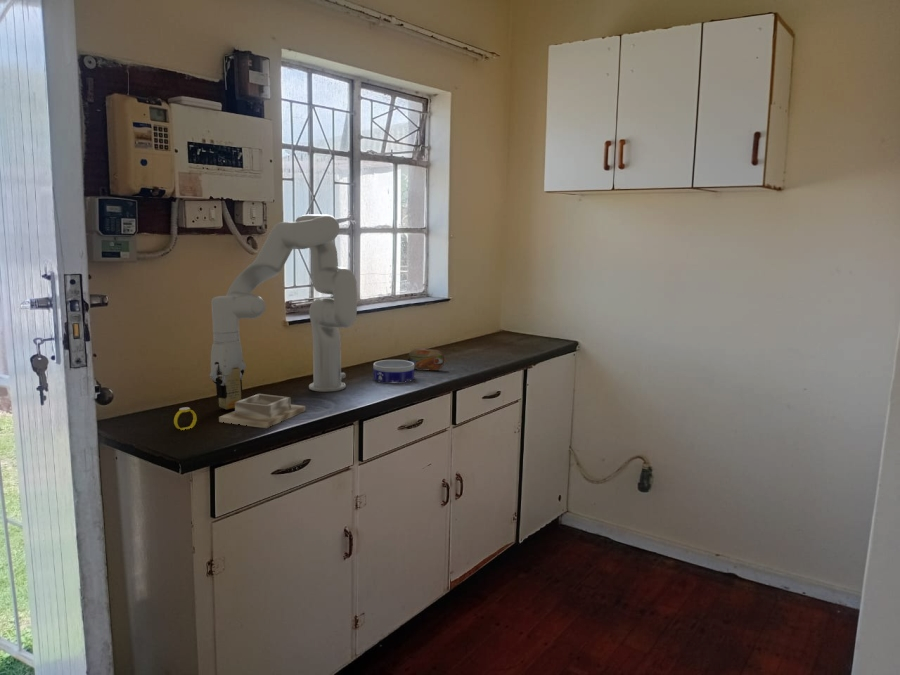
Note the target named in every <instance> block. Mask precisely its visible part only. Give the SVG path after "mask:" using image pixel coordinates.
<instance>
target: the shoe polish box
mask: <svg viewBox="0 0 900 675" xmlns="http://www.w3.org/2000/svg"><path fill="white" fill-rule="evenodd" d="M220 375H222V373H220ZM220 380H222V377H220ZM225 385H226V391H227V398H225V399H224V398H218V405H219V408H222V409H225V410H232V409H235V402H237V401H240V400H242V392H241V383H240V368H235V369H232V372H231V374H230V375H228V376H226V380H225Z"/></svg>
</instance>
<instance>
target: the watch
mask: <svg viewBox="0 0 900 675" xmlns="http://www.w3.org/2000/svg"><path fill="white" fill-rule="evenodd" d="M187 412H188V413H189V412H190V413H191V414H192V418H193V419H192V422H191V423H190V425H189V426H186V427H180V426H179V424H178V419H179V417H180V415H182V413H187ZM197 419H198V418H197V414H196V413H195V411H194V410H192V409H191V408H190V407H188V406H186V407H180V408H179V410H178V411H177V412H176V413H175V415H174V418H173V424H174V426H175V428H176V429H178V430H179V429H180V430H179V431H182V430H183V431H185V429H186V430H190V428H191V429H192V428H194V427H195V425H196V423H197V421H198V420H197Z"/></svg>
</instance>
